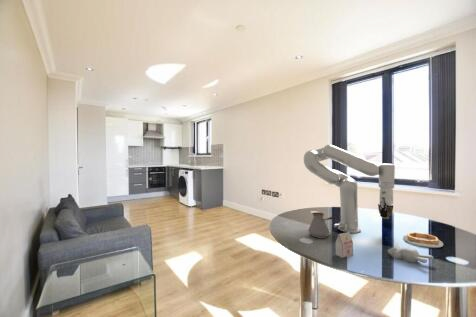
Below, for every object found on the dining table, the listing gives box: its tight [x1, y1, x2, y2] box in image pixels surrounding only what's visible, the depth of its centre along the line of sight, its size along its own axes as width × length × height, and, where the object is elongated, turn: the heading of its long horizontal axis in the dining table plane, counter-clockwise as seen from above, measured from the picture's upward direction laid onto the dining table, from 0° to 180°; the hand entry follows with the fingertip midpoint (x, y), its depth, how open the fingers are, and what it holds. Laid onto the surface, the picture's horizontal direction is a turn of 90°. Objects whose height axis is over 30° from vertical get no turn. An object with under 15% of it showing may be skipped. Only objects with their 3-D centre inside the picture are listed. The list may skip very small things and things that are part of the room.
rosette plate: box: [402, 231, 444, 249], centre depth 116 cm, size 16×16×3 cm
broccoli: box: [377, 203, 394, 220], centre depth 129 cm, size 8×7×8 cm
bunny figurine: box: [387, 246, 434, 264], centre depth 96 cm, size 10×5×15 cm
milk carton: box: [335, 232, 354, 259], centre depth 102 cm, size 4×7×10 cm, turn 113°
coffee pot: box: [307, 211, 343, 239], centre depth 123 cm, size 21×12×15 cm, turn 27°
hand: (385, 215), depth 129 cm, fingers closed on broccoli, 6 cm apart
